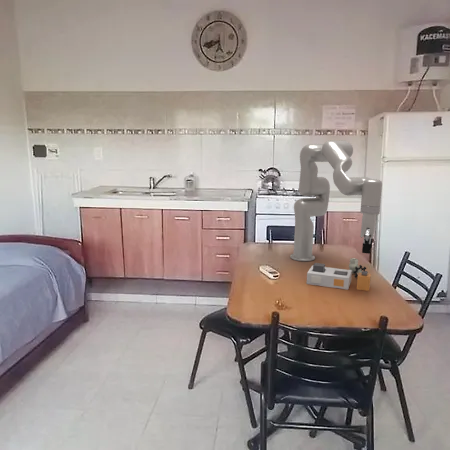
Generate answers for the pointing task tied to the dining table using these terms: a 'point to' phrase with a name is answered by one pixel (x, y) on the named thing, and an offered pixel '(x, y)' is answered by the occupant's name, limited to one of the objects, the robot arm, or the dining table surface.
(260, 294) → the dining table surface
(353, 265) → the valve
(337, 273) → the block
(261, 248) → the dining table surface
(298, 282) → the dining table surface
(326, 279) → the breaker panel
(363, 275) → the lockout cap
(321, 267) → the breaker
